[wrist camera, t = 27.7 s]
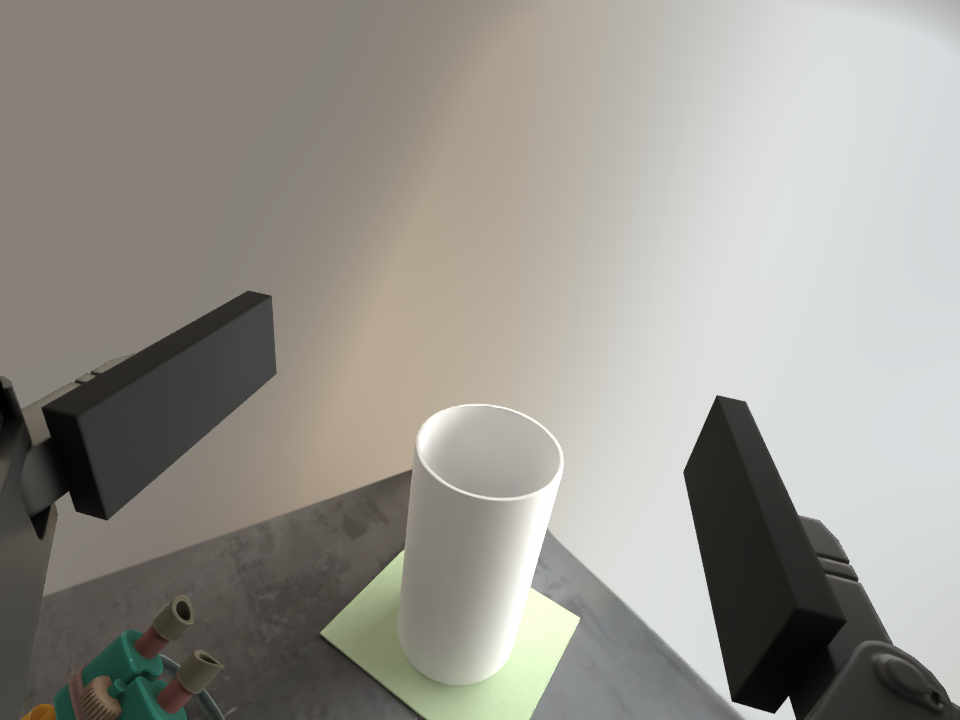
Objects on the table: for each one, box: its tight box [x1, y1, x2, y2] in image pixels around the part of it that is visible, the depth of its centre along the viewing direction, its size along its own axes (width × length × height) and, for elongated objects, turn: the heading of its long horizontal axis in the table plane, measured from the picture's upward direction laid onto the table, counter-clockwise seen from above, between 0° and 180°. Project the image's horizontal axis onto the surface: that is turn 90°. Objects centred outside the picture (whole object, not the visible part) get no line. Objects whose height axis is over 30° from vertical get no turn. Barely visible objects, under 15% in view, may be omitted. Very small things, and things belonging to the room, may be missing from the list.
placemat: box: [320, 549, 580, 720], centre depth 36 cm, size 14×12×1 cm
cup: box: [397, 404, 563, 686], centre depth 32 cm, size 8×8×16 cm
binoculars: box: [21, 595, 225, 720], centre depth 25 cm, size 9×9×10 cm
